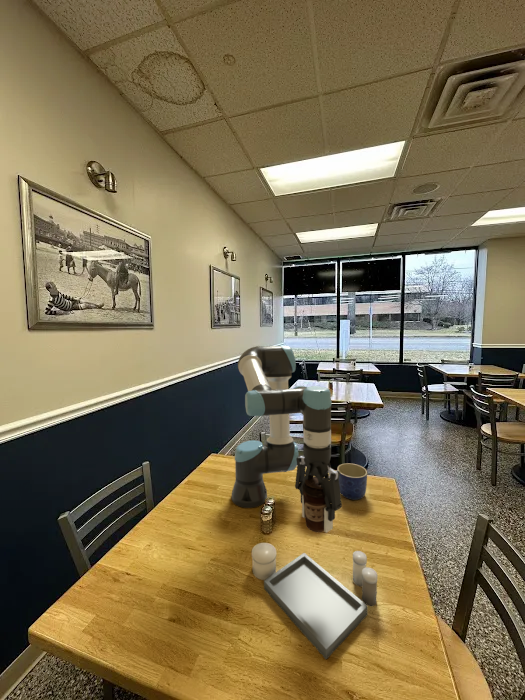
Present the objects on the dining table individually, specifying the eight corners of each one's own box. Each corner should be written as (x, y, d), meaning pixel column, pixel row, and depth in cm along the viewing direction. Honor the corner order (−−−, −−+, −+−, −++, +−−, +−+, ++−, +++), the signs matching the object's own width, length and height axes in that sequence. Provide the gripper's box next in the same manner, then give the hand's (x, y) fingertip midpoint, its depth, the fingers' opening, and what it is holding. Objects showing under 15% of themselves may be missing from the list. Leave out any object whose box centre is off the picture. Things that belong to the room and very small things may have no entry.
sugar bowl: (247, 568, 88) (246, 550, 87) (266, 556, 92) (265, 539, 92) (262, 585, 82) (261, 566, 82) (281, 571, 87) (281, 553, 86)
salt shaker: (349, 579, 84) (350, 555, 83) (357, 572, 86) (357, 548, 85) (361, 589, 81) (361, 563, 80) (368, 581, 83) (369, 556, 82)
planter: (369, 491, 128) (370, 467, 127) (362, 506, 117) (363, 480, 116) (341, 483, 134) (342, 460, 133) (333, 496, 124) (333, 472, 123)
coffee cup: (333, 538, 77) (333, 491, 76) (301, 535, 78) (301, 488, 77) (331, 517, 85) (331, 475, 84) (303, 514, 87) (303, 472, 86)
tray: (264, 588, 81) (264, 580, 81) (304, 560, 91) (304, 552, 90) (326, 659, 64) (326, 649, 63) (367, 614, 73) (367, 605, 73)
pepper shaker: (358, 598, 78) (359, 572, 77) (366, 590, 80) (367, 565, 79) (371, 609, 75) (372, 582, 74) (379, 600, 77) (380, 574, 76)
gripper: (282, 436, 86) (282, 510, 87) (339, 459, 70) (338, 549, 71) (299, 430, 90) (300, 501, 92) (357, 451, 75) (356, 535, 76)
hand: (316, 522), depth 82 cm, fingers closed on coffee cup, 7 cm apart
